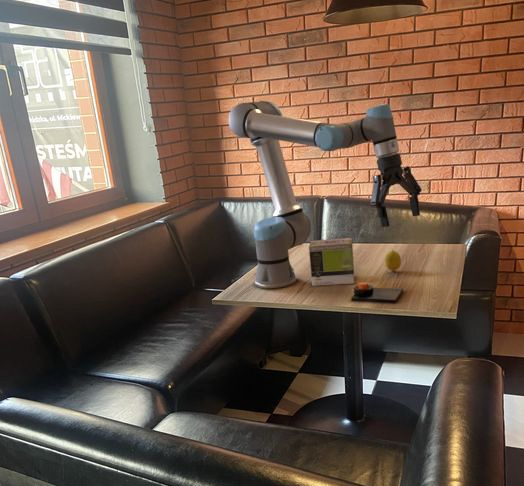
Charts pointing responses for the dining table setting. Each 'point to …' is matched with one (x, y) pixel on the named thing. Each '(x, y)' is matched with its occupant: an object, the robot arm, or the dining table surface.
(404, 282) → the dining table surface
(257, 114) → the robot arm
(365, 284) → the button
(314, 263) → the tea box
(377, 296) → the scale
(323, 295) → the dining table surface
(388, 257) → the lemon
